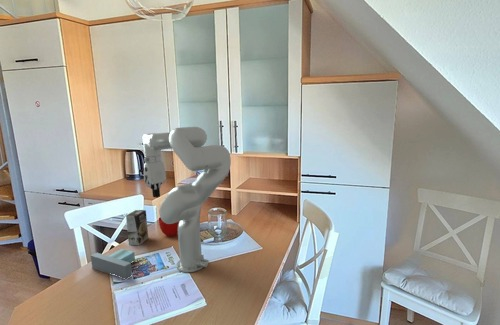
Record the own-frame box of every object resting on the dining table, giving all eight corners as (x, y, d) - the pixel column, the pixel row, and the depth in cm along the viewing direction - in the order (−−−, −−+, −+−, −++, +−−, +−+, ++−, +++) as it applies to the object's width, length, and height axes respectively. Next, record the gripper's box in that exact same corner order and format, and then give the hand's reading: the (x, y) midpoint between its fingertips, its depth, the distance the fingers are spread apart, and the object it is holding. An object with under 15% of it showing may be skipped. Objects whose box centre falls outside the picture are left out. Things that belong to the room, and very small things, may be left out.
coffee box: (139, 245, 149) (136, 215, 146) (128, 244, 150) (125, 215, 148) (149, 238, 158) (146, 209, 155) (138, 237, 159) (135, 209, 156)
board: (132, 276, 120) (130, 262, 119) (126, 279, 118) (124, 266, 117) (98, 264, 130) (96, 252, 129) (92, 268, 128) (90, 255, 127)
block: (135, 262, 132) (134, 252, 132) (118, 271, 124) (117, 261, 124) (123, 258, 136) (122, 248, 135) (106, 268, 128) (105, 257, 127)
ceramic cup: (174, 243, 150) (173, 225, 149) (155, 235, 161) (153, 218, 159) (193, 234, 161) (192, 217, 159) (174, 228, 171) (172, 212, 169)
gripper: (146, 162, 128) (150, 202, 131) (170, 157, 141) (173, 193, 144) (134, 161, 132) (138, 200, 135) (159, 156, 145) (162, 192, 148)
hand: (156, 196), depth 139 cm, fingers closed
